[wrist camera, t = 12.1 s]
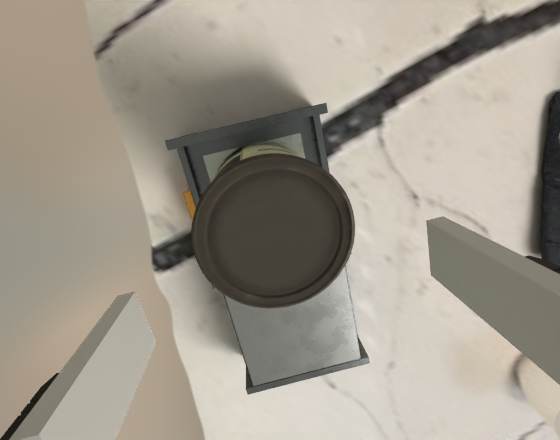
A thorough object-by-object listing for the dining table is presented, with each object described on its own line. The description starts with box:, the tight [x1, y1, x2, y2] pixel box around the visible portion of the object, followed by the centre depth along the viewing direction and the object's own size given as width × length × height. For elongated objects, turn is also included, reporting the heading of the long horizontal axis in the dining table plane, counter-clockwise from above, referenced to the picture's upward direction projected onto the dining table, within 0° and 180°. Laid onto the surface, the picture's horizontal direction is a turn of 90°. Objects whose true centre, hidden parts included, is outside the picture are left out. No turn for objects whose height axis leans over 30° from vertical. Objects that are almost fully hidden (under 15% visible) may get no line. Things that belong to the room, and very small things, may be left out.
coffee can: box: [191, 141, 355, 309], centre depth 27 cm, size 10×10×14 cm
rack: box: [165, 103, 370, 394], centre depth 34 cm, size 28×15×6 cm, turn 13°
